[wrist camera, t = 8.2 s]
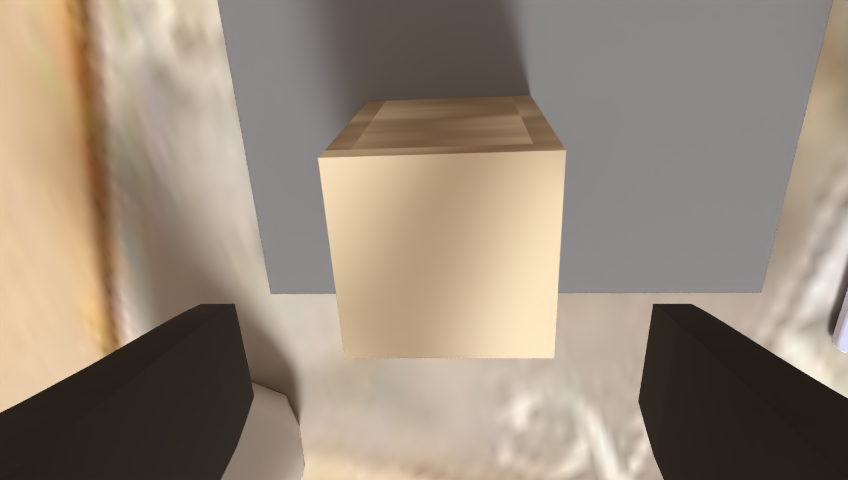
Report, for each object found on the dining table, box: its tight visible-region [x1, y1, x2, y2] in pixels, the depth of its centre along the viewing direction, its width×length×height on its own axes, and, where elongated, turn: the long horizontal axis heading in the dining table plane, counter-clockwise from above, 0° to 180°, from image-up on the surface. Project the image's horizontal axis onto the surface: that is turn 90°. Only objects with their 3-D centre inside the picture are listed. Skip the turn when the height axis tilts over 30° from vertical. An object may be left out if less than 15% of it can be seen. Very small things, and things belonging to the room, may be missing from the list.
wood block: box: [318, 95, 566, 358], centre depth 15 cm, size 5×5×7 cm
